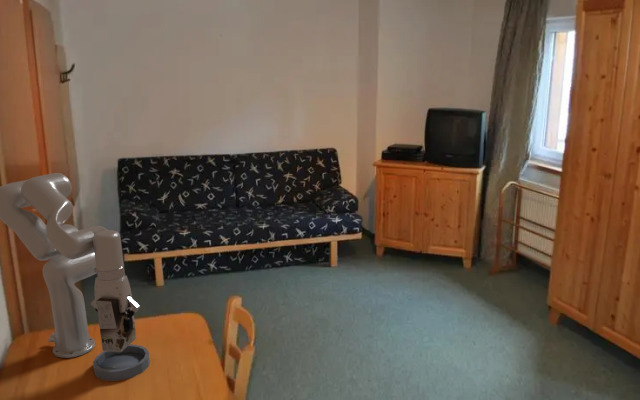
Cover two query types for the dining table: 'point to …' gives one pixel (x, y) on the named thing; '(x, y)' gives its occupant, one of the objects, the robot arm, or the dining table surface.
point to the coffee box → (113, 326)
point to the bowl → (121, 363)
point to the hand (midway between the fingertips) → (118, 328)
